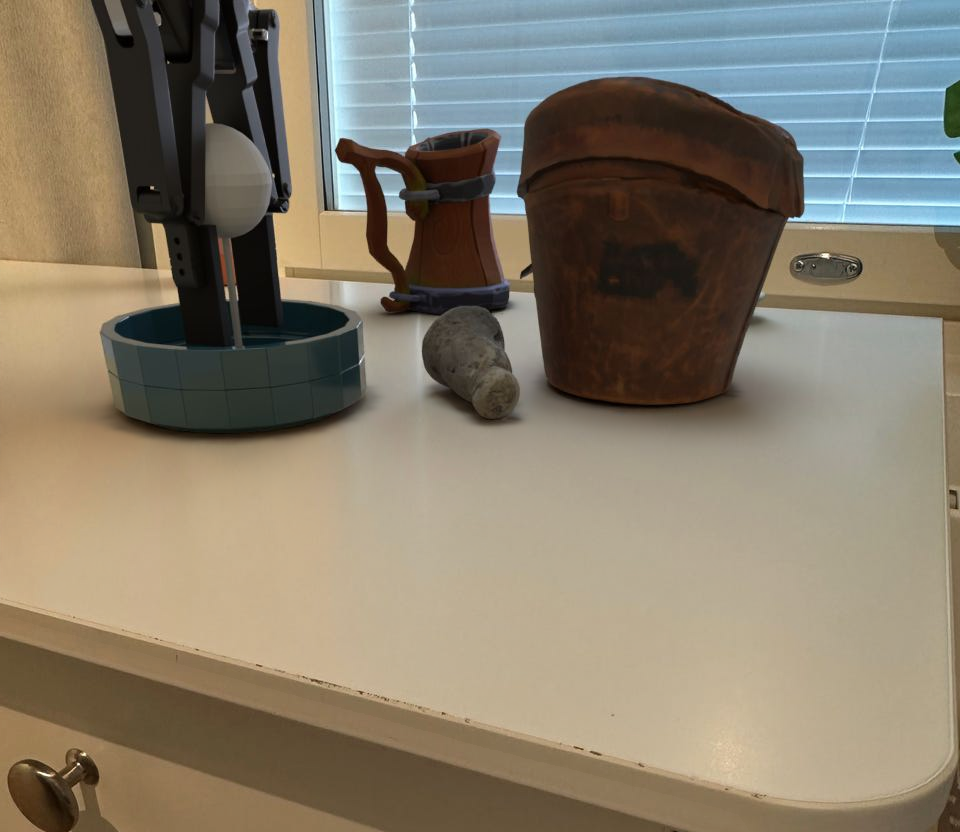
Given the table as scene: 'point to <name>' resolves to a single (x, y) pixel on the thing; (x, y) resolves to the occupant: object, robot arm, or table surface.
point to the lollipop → (234, 195)
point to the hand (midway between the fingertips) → (236, 333)
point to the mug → (437, 221)
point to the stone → (472, 360)
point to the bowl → (236, 369)
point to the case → (650, 235)
